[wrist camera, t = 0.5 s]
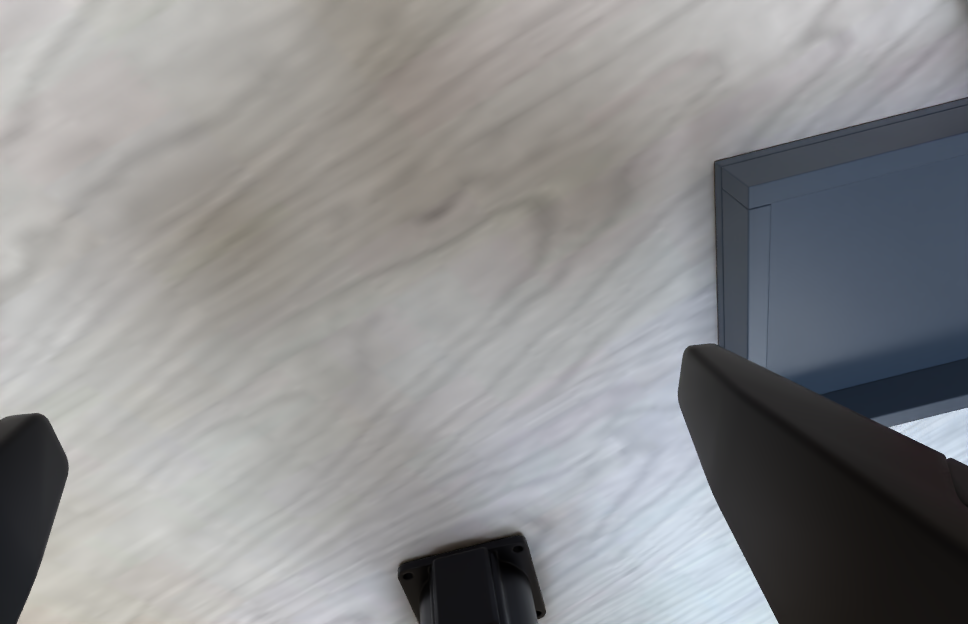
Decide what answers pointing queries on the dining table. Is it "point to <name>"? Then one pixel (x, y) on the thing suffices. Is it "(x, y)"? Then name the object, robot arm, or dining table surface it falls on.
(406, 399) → the dining table surface
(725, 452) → the robot arm
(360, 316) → the dining table surface
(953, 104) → the tray
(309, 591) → the dining table surface
